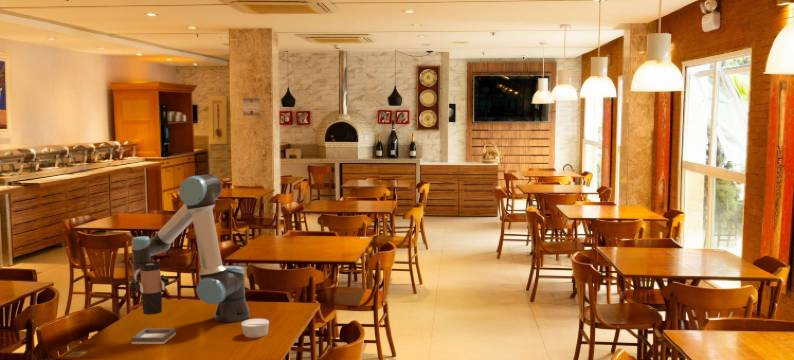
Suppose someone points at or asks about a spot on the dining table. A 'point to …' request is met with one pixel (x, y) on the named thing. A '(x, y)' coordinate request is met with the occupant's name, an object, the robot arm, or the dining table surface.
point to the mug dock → (153, 336)
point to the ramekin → (255, 327)
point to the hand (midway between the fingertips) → (152, 287)
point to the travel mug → (151, 288)
